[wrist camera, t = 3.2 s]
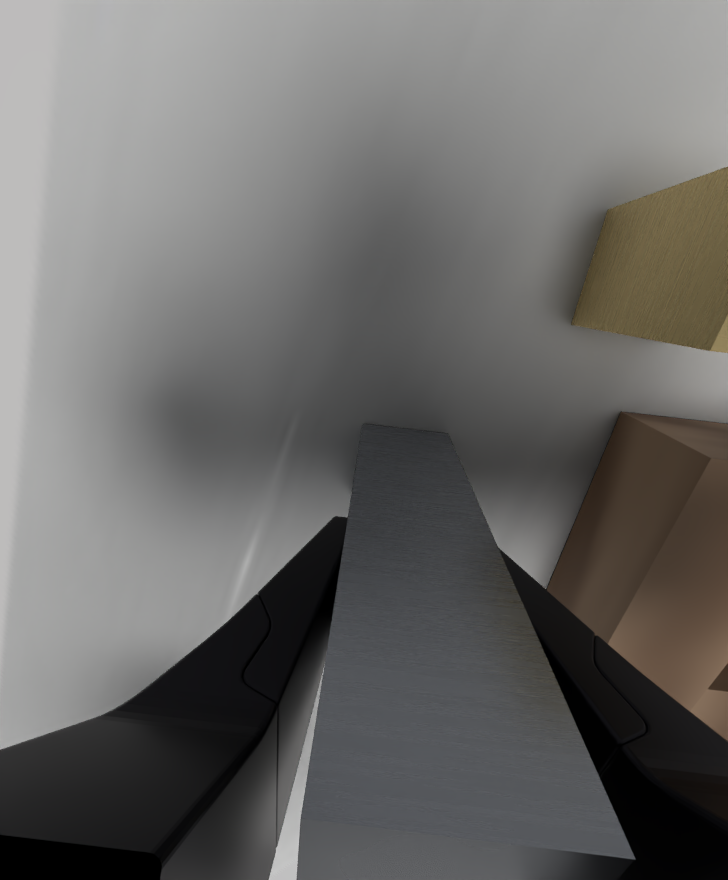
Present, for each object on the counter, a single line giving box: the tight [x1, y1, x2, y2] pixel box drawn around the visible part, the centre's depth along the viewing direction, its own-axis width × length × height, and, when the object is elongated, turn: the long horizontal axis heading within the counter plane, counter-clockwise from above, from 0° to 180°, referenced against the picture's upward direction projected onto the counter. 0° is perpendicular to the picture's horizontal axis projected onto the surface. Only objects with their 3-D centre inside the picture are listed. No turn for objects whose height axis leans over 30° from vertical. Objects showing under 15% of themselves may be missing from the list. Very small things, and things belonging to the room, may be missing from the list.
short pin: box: [571, 167, 728, 353], centre depth 8 cm, size 3×3×5 cm
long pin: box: [297, 424, 636, 880], centre depth 8 cm, size 3×3×10 cm
